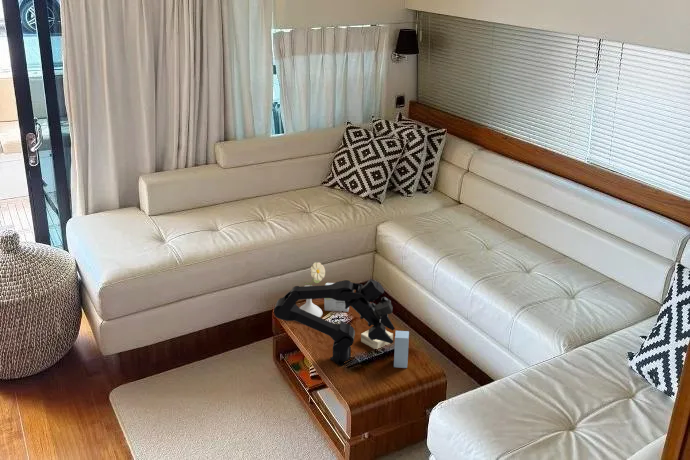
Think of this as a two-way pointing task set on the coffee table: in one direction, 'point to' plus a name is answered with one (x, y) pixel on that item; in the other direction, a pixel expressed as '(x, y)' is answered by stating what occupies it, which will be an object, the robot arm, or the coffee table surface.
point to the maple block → (374, 343)
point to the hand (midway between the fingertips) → (393, 335)
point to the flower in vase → (317, 275)
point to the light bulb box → (334, 304)
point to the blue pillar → (401, 349)
